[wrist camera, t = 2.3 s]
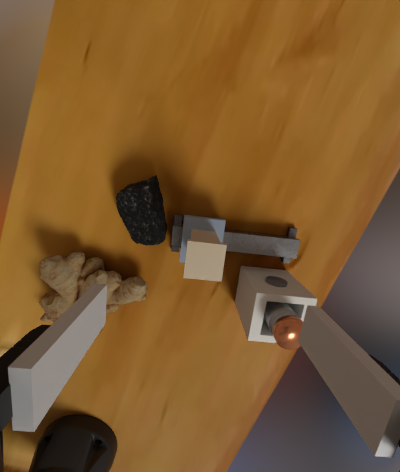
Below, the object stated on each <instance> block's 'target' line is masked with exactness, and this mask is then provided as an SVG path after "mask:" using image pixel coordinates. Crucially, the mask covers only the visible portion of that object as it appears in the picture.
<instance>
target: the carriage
mask: <svg viewBox="0 0 400 472" xmlns="http://www.w3.org/2000/svg"><path fill="white" fill-rule="evenodd" d="M225 222H226V220H225V219H219V218H210V217H201V216H192V215H184V224H183V233H182V243H181V253H180V262H183V263H185V269H184V278H190V279H200V280H210V281H220V282H221V281H222V275H223V268H224V261H225V254H226V248H227V244H226V243H223V236H224V229H225Z"/></svg>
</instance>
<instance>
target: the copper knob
mask: <svg viewBox="0 0 400 472" xmlns="http://www.w3.org/2000/svg"><path fill="white" fill-rule="evenodd" d="M264 319H265V321H266V323H267V325H268V327H269V329H270V331H271V333H272V335H273V336H274V338H275V340H276V342H277V344H278V345H279V346H280V347H282V348H284V349H290V350H291V349H296V348H299V347H300V346H301V344H300V343H299V337H300V333H301V329H302V325H303V321H302V320H301V319H300V317H299V316H298V315H297V314H296V312H295V311H294V310H293V309H292V307H291V306H290V305H289V304H288V303H281V302H271V301H267V303H266V308H265V313H264Z"/></svg>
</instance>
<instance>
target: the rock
mask: <svg viewBox="0 0 400 472" xmlns="http://www.w3.org/2000/svg"><path fill="white" fill-rule="evenodd" d="M116 199H117V208H118V212H119V214H120V217H121V218H122V220H123V222H124V224H125V226H126V228H127V230H128V231H129V233H130V236H131V238H132V240H133V241H134V242H135V243H137V244H138V243H141V244H144V245H155V244H157V245H158V244H160V243H162V242H163V241H164V240H165V235H166V229H167V225H166V222H165V213H164V207H163V198H162V194H161V192H160V188H159V183H158V179H157V176H153V177H151V178H150V179H149V180H147V181H141V182H138V183H135V184H130V185H128V186H127V187H126V188H125V189H124V190H121V191H120V192H119V193H118V194H117V196H116Z"/></svg>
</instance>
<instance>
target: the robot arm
mask: <svg viewBox="0 0 400 472" xmlns="http://www.w3.org/2000/svg"><path fill="white" fill-rule="evenodd" d="M106 299H107V284H98V283H94V284H93V285H92V286H91V287H90V288H89V289H88V290H87V291H86V292H85V293H84V294H83V295H82V296H81V297H80V298H79V299H78V300H77V301H76V302H75V303H74V304H73V305H72V306H71V307H70V308H69V309H68V310H66V311H65V312H64V313H63V314H62V315H61V316H60V317H59V318H58V319H57V320H56V321H55V322H54V323H53V324H52V325H41V326H39V327H37V328H35V329H33V330H31V331H30V332H29V333H28V334H26V335H25V336H24V337H23V338H22V339H21V341H18V342H17V343H16V344H15V345H14V347H12V348H10V349H9V350H8V351H7V352H6V353H5V354H4V355H2V356H1V357H0V472H4V467H3V433H2V430H3V429H4V427H5V426H6V425H7V423H8V422H9V421H10V420H11V418H12V427H13V431H27V432H35V430H36V429H37V427H38V425H39V424H40V422H41V421H42V419H43V418H44V416H45V415H46V413H47V412H48V410H49V409H50V407H51V406H52V404H53V403H54V401H55V400H56V398H57V396H58V395H59V393H60V392H61V390H62V389H63V387H64V386H65V384H66V383H67V381H68V380H69V378H70V377H71V375H72V374H73V372H74V370H75V369H76V367H77V366H78V364H79V363H80V361H81V360H82V358H83V357H84V355H85V354H86V352H87V351H88V349H89V348H90V346H91V344H92V343H93V341H94V340H95V338H96V337H97V335H98V334H99V332H100V331H101V329H102V328H103V326H104V325H105V323H106ZM299 343H300V344H301V346H302V347H303V349H304V351H305V352H306V354H307V355H308V357H309V358H310V359H311V361H312V362H313V364H314V366H315V367H316V368H317V370H318V372H319V373H320V374H321V376H322V378H323V379H324V381H325V382H326V384H327V385H328V387H329V388H330V390H331V391H332V393H333V394H334V395H335V397H336V399H337V400H338V402H339V403H340V404H341V406H342V408H343V409H344V411H345V412H346V414H347V415H348V417H349V418H350V420H351V421H352V423H353V424H354V426H355V427H356V428H357V430H358V432H359V433H360V435H361V436H362V438H363V439H364V441H365V442H366V444H367V445H368V447H369V448H370V450H371V451H372V453H373V454H374V455H375V456H380V457H393V456H394V454H395V452H396V449H397V447H398V445H399V447H400V380H399V378H398V377H396V376H395V375H394V374H393V373H391V371H390V370H389V369H388V368H387V367H386V366H385V365H384V364H383V363H382V362H380V361H379V360H377V359H376V358H374V357H373V356H371V355H369V354H367V353H366V352H365V351H364V350H363V349H362V348H361V347H360V346H359V345H357V343H356V342H355V341H354V340H353V339H352V338H351V337H349V336H348V335H347V334H346V333H345V332H344V331H343V330H342V329H341V328H340V327H339V326H338V325H337V324H336V323H335V322H334V321H333V320H332V319H331V318H330V317H329V316H328V315H327V314H326V313H325V312H324V311H323V310H322V309H321V308H320V307H319V306H310V305H307V309H306V313H305V317H304V321H303V325H302V329H301V333H300V337H299ZM116 451H117V440H116V437H115V435H114V433H113V432H112V430H111V429H110V428H109V427H108V426H107V425H106V424H104V423H103V422H101V421H99V420H97V419H95V418H92V417H89V416H83V415H71V416H65V417H62V418H59V419H57V420H56V421H54V422H53V423H51V424H50V425H49V426H48V427H47V429H46V430H45V432H44V434H43V435H42V437H41V438H40V440H39V442H38V444H37V447H36V450H35V453H34V456H33V459H32V463H31V466H30V469H29V472H109V471H110V469H111V467H112V464H113V461H114V458H115V455H116ZM399 472H400V471H399Z"/></svg>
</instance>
